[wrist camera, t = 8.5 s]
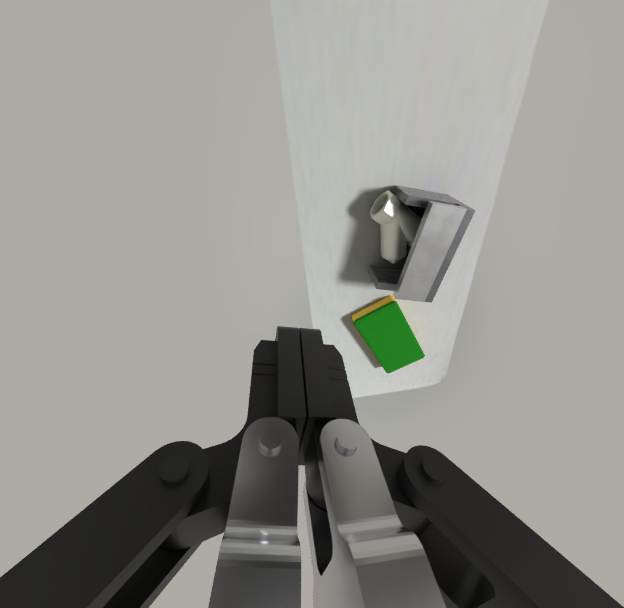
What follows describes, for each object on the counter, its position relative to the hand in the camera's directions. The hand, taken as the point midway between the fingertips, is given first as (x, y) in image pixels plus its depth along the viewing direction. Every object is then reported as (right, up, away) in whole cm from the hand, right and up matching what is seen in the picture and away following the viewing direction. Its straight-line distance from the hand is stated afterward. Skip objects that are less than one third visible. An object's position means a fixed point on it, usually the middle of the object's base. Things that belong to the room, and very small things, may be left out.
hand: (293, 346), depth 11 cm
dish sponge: (+13, -3, +40) cm, 42 cm away
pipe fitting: (+11, +12, +29) cm, 33 cm away
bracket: (+13, +11, +29) cm, 34 cm away
